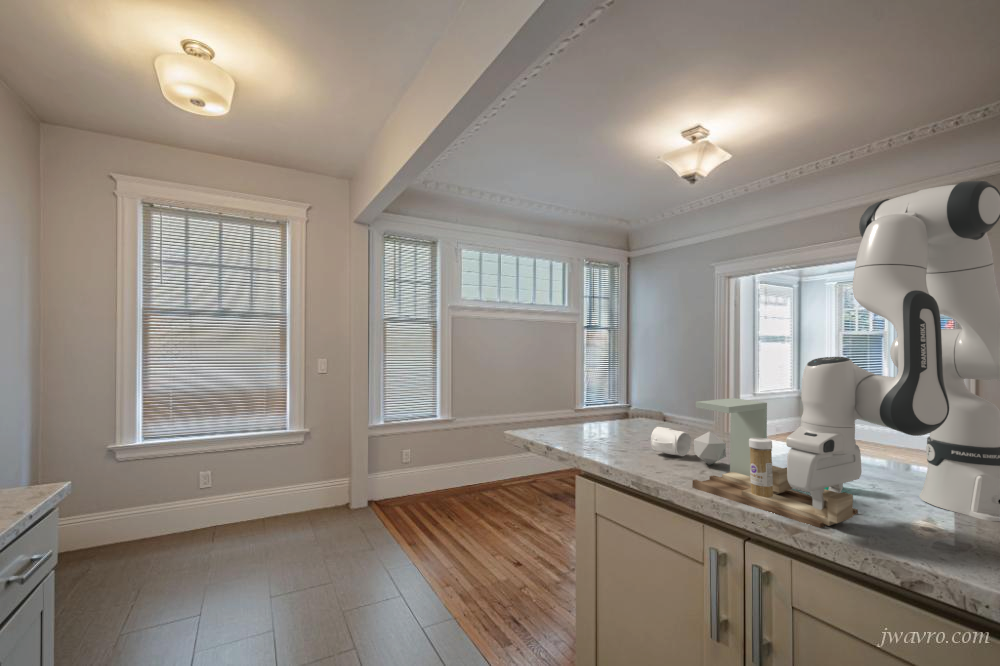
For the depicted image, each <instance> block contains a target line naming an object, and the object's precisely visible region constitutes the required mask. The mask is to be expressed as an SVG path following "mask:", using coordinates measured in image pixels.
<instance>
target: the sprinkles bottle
mask: <svg viewBox="0 0 1000 666" xmlns="http://www.w3.org/2000/svg"><path fill="white" fill-rule="evenodd" d="M749 447H750V465H751V466H750V467H751V469H750V480H751V493H752V494H754V495H757V496H761V497H772V496H773V473H772V466H773V461H772V460H773V459H772V458H773V457H772V456H773V455H772V451H773V441H772V439H770V438H767V439H766V438H750V439H749Z"/></svg>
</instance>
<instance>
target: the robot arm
mask: <svg viewBox="0 0 1000 666" xmlns="http://www.w3.org/2000/svg"><path fill="white" fill-rule="evenodd" d="M999 220H1000V191H999V190H998V188H997V187H996V186H994V185H993V184H992V183H990V182H989V181H986V180H968V181H962V182H959V183H957V184H948V185H942V186H935V187H930V188H928V187H927V188H924V189H920V190H918V191H915V192H911V193H907V194H904V195H900V196H897V197H893V198H885V199H883V200H879V201H877V202H875V203H873V204H870V206H868V207H867V208H866V209H865V211H864V212H863V213H862V215H861V217H860V219H859V224H858V225H859V227H858V228H859V233H860V237H861V241H860V244H859V248H858V251H857V255H856V259H855V263H854V264H855V265H854V270H853V277H852V292H853V298H854V299H855V300H856V301H857V303H858V304H859V305H860V306H862V307H863V308H864V309H865V310H867V311H869V312H870V313H872V314H875V315H877V316H880V317H882V318H884V319H886V320H887V321H888V322H889V323H891V324H892V325H893V327H894V329H895V331H896V335H897V336H896V337H895V338H894V340H893V341H892V343H891V345H890V350H889V355H890V358H891V361H892V363H893V364H894V366H895V367H896V368H897V369H898V370H897V374H896V376H886V375H883V374H875V372H871V371H868V370H866V369H864V368H862V367H860V366H859V365H857V364H856V363H854V362H853V361H852V359H851V358H850V357H845V356H825V357H818V358H813V359H811V360H809V361H808V362H807V364H806V365H805V367H804V369H803V374H802V380H801V392H800V395H801V397H800V400H801V403H802V407H803V409H802V410H803V411H802V415H801V417H800V425H799V426H798V427H797V428H796V429H795V430H794V431H793V432H791V434H788V436H787V437H786V442H785V443H786V446H787V447H788V448H790V449H789V450H788V453H787V461H786V462H787V463H786V464H787V465H786V466H787V478H788V482H789V484H790V486H791V487H792V488H793V489H795V490H799V491H801V492H806V493H810V494H809V495H810V496H811V497H812V498H813V503H812V505H813V507H814V508H817V509H820V510H821V509H825V508H826V500H824V498H823V494H822V493H824V488H826V487H829V489H828V490H830V491H833V492H837V493H842V492H843V491H842V490H843V488H844V487H843V486H844V484H845V483H849V482H852V481H853V482H854V481H856V480H860V478H861V476H862V456H861V455H862V454H861V448H860V446H859V445H857V443H856V420H860V421H864V422H867V423H870V424H874V425H878V426H882V427H885V428H889V429H892V430H895V431H897V432H900V433H903V434H906V435H908V436H912V437H913V436H915V437H916V436H917V437H918V436H919V437H921V436H924V435H927V434H929V436H928V437H927V438H926V439H927V440H926V447H925V449H926V450H925V453H926V454H925V455H926V461H927V462H928V464H927V469H926V475H925V480H924V482H923V483H924V484H923V486H922V490H921V492H920V494H919V499H920V500H922V501H923V502H925V503H928V504H929V505H932V506H935V507H937V508H941V509H943V510H947V511H951V512H954V513H958V514H963V515H966V516H969V517H972V518H976V519H979V520H983V521H990V522H1000V409H999V407H998V406H997V405H996V404H995V403H993V402H992V401H990V400H988V399H987V398H984V397H982V396H979V395H977V394H975V393H973V392H972V391H971V390H969V389H968V387H967V386H966V384H965V380H966V379H967V380H979V381H980V380H981V381H993V382H995V381H997V382H1000V294H999V289H998V286H997V285H998V284H997V280H996V273H995V263H994V255H993V249H992V245H991V243H990V238H989V235H988V232H990V231H991V230H992V229H993V227H995V225H997V223H998V222H999ZM941 315H943V316H946V317H948V318H951V319H953V320H954V321H955V322H957V323H958V325H959V326H960V327H961V328H942V325H941V324H942V323H941V322H942V321H941Z"/></svg>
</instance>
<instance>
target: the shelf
mask: <svg viewBox="0 0 1000 666" xmlns="http://www.w3.org/2000/svg"><path fill="white" fill-rule="evenodd" d="M695 408H696V409H702V410H707V411H712V412H713V411H714V412H719V413H723V414H724V413H725V414H730V415H729V416H730V425H729V427H730V428H729V429H730V431H729V433H730V434H729V435H730V436H729V440H730V441H729V448H730V451H729V472H736V473H739V474H743V475H746V476H750V469H751V467H750V466H751V465H750V447H749V439H750V438H766V439H768V437H767V434H768V431H767V429H768V402H765V401H758V400H757V401H756V400H752V399H744V398H743V399H742V398H737V397H731V398H719V399H718V398H717V399H710V400H708V399H707V400H701V401H695Z"/></svg>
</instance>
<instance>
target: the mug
mask: <svg viewBox="0 0 1000 666" xmlns="http://www.w3.org/2000/svg"><path fill="white" fill-rule="evenodd" d="M652 430H653V431H652V432H651V436H650V445H651V448H652V449H653V450H654V451H656V452H660V453H664V454H668V455H672V456H673V455H675V456H680V457H684V456H686V455H688V453H689V452H690V451H691V448H692V443H693V442H692V441H693V440H692V436H691V434H690V433H689V432H687V431H680V430H675V429H673V428H670V427H669V428H668V427H664V426H656V427H654V429H652Z"/></svg>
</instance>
